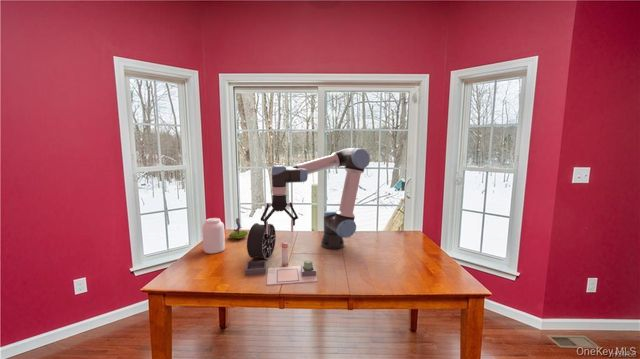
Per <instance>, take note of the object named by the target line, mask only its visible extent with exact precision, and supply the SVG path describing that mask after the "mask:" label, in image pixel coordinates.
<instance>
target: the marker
mask: <svg viewBox="0 0 640 359" xmlns="http://www.w3.org/2000/svg"><path fill="white" fill-rule="evenodd" d="M288 245H289V244H288V242H287V241H285V242H281V266H282V267H287V266H288V264H289V263H288V262H289V257H288V256H289V255H288V253H289V251H288V250H289V249H288V247H289V246H288Z"/></svg>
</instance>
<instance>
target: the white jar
mask: <svg viewBox="0 0 640 359" xmlns="http://www.w3.org/2000/svg"><path fill="white" fill-rule="evenodd" d="M202 244H203V246H202V248H203V252H204V253H205V254H211V255H213V254H218V253H221V252H223V251H225V249H226V240H225V224H224V222H223V221H221V218H219V217H210V218H207V219H205V223H203V225H202Z"/></svg>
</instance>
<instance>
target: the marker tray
mask: <svg viewBox="0 0 640 359" xmlns="http://www.w3.org/2000/svg"><path fill="white" fill-rule="evenodd" d="M244 271H245V274H244V276H256V275H266V273H267V259H264V260H253V261H251V260H250V261H247V262H246V266H245V270H244Z"/></svg>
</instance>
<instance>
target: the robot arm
mask: <svg viewBox="0 0 640 359" xmlns="http://www.w3.org/2000/svg"><path fill="white" fill-rule="evenodd" d="M370 161H371V157H370V154H369V152H368V151H367V150H366V149H364V148H361V147H347V148H344V149H341V150H338V151H335V152H332V153H331V155H326V156H323V157H320V158H319V157H318V158H316V159H313V160H310V161H306V162H303V163H298V164H295V165H291V166H286V165H282V164H281V165H280V164H279V165H277V164H276V165H273V166H272V167H271V193H272V195H271V197H272V198H271V201H272V202H271V203H269V202H266V206H265V209H264V211H263V213H262V215H261V217H260V221H261V222H263V225H264V227H265V228H266V233H267V234H268V224H269V222H268V220H269V219H270V218H271V216H272V215H273V214H274V213H275V212H278V213H279V212H285V213H286V214H287V215H288V216H289V217H290V218H291V219H290V231H291V233H293V232H294V227H295V225H296V220H298V219H299V216H298V215H297V212H296V211H295V208H294V207H293V206H294V205H293V202H291V201H290V202H287V184H288V183H290V184H291V183H305V182H307V181H308V177H309V176H308V175H311V174H314V173H317V172H321V171H324V170H327V169H331V168H333V167H335V168H339V167H344V169H345V171H346V174H345V178H344V179H345V180H344V182H343V183H344V184H343V188H342V189H343V190H342V193H341V197H340V198H341V199H340V204H339V208H338V210H337V209H334V210H333V209H331V210H325V211H324V213H323V235H322V237H321V241H320V245H321V247H322V248H325V249H329V250H337V249H341V248H344V246H345V241H344V239H348V238H350V237H352V236H353V235H354V234H355V233H356V231H357V224H356V222H355V218H356V217H355V214H354V209H355V204H356V199H357V196H358V188H359V184H360V179H361V176H362V174H364V172H365V168H367V167H368V166H369V165H370ZM287 206H288V208H290V210H291V211H292V213H291V212H290V211H289V210H288V208H287ZM271 207H272V209H271V210H270V211H269V208H271ZM268 211H269V213H268V214H267V212H268ZM292 214H293V215H292Z"/></svg>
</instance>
